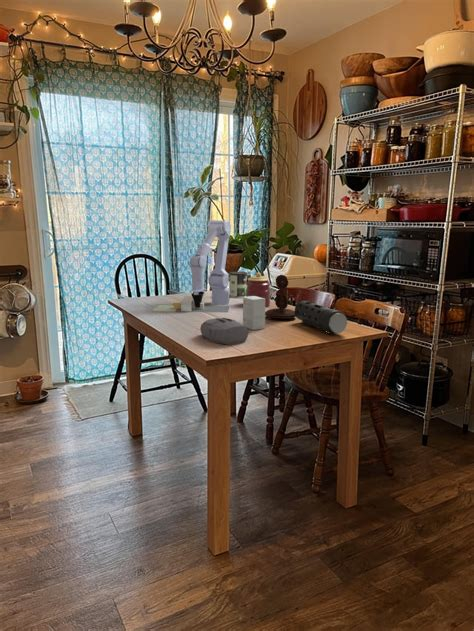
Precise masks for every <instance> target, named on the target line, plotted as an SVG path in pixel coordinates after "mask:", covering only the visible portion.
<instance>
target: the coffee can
mask: <svg viewBox="0 0 474 631" xmlns="http://www.w3.org/2000/svg"><path fill="white" fill-rule="evenodd" d="M228 274H229V298H233V299H243V297H246V289H247V285H246V283H247V282H248V273H247V272H246V271H230V272H229V273H228Z"/></svg>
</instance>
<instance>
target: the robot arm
mask: <svg viewBox="0 0 474 631" xmlns="http://www.w3.org/2000/svg"><path fill="white" fill-rule="evenodd" d="M231 230H232V226H231V223H230V221H229V220H217V219H212V220H210V222H209V225H208V232H207V235H206V237H205V240H204V241H203V242H202V243H200V245H199V247H198V249H197V250H196V252H195V254H194V255H192V256H191V257H190V259H189V261H188V262H189V266H190V271H191V281H192V282H191V290H192V292H193V293H190V294H191V295H190V296H192V297H193V300H194V304H195V308H199V307H200V303H203V301H202V300H203V297H204V295H205V291H206V290H207V288H205V286H204V285H205V284H204V283H205V282H204V281H205V280H204V279H205V278H204V274H205V272H204V271H205V270H204V268H205V266H207V260H208V258H207V257H208V256H209V253H210V252H211V250H212V248H211V245H212V244H213V242H214V240H216V239H215V238H216V237H217V239H218V243H217V249H216V257H215V264H214V269H213V270H211V271H210V274H209V276H208V280H207V281H208V284H209V286H210V288H211V302H210V306H229V304H230V297H229V293H230V287H228V286H229V285H230V278H229V277H230V274H229V273H228V272H227V271H226V262H227V254H228V248H229V240H230V237H231Z"/></svg>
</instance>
